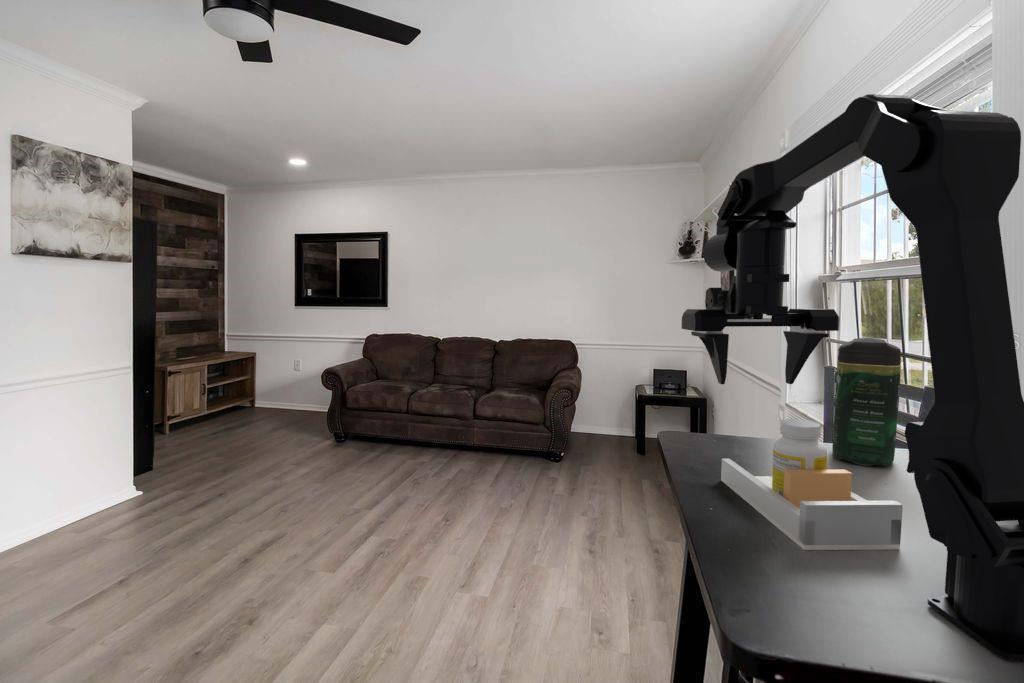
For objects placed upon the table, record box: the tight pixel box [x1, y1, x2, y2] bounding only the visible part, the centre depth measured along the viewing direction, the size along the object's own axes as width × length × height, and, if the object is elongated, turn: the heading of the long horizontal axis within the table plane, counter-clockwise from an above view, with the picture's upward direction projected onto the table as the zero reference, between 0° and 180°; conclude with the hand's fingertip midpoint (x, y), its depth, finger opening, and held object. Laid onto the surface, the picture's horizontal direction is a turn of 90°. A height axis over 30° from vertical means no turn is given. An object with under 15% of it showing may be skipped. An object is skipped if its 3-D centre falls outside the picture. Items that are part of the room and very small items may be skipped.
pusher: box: [783, 468, 853, 509], centre depth 54 cm, size 1×7×5 cm, turn 90°
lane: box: [720, 458, 904, 551], centre depth 58 cm, size 19×9×4 cm, turn 0°
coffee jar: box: [832, 337, 902, 467], centre depth 76 cm, size 10×8×19 cm
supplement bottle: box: [771, 418, 828, 497], centre depth 57 cm, size 5×5×10 cm
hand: (755, 383), depth 68 cm, fingers open, 9 cm apart
